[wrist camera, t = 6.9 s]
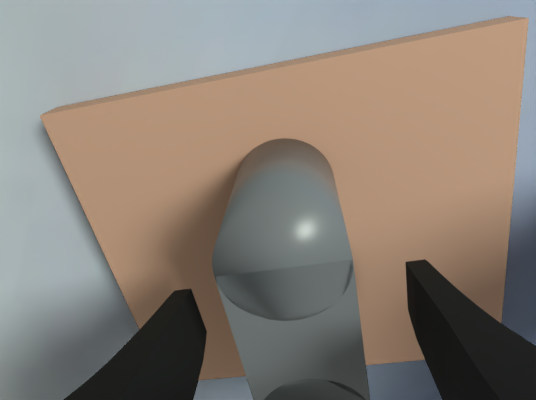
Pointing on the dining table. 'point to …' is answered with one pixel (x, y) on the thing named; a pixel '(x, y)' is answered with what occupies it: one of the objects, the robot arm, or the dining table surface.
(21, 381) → the dining table surface
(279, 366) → the plug
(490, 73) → the mat
